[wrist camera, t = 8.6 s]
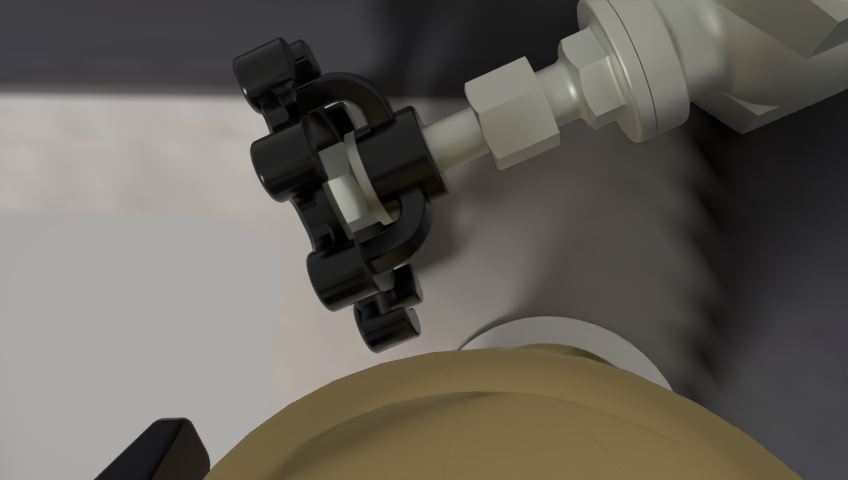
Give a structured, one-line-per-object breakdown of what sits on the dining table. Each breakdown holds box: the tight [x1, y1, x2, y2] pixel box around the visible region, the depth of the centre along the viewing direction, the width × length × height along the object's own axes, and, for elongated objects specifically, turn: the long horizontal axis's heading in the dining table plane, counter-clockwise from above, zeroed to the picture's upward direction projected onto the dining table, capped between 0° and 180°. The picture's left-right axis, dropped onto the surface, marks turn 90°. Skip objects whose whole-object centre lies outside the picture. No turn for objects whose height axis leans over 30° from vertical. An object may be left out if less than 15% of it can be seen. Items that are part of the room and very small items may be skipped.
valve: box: [233, 0, 848, 353], centre depth 15 cm, size 7×7×12 cm
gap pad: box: [461, 316, 672, 391], centre depth 17 cm, size 6×6×1 cm
